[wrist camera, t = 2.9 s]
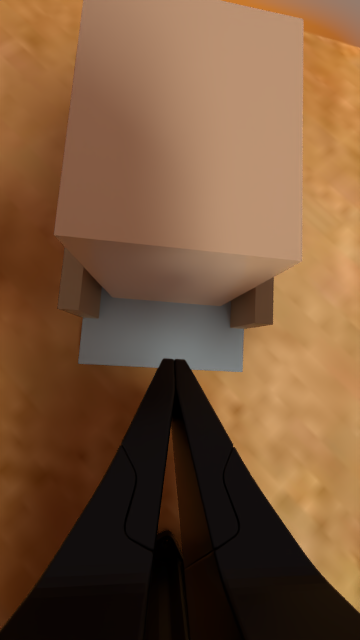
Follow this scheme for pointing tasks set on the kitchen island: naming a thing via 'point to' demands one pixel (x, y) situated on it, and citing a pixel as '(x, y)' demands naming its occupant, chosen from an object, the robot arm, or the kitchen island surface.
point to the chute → (160, 325)
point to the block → (184, 149)
